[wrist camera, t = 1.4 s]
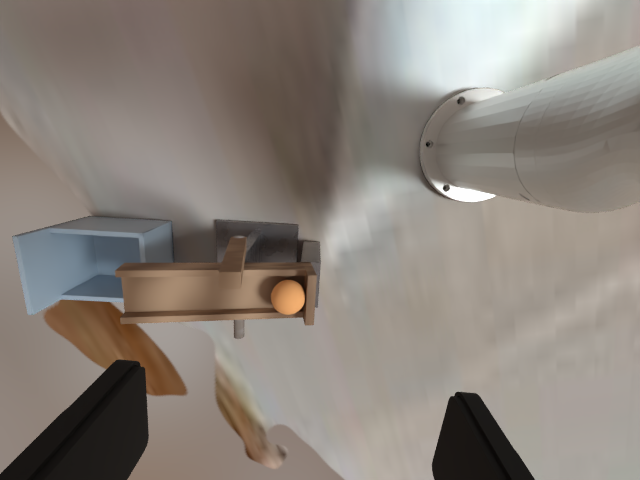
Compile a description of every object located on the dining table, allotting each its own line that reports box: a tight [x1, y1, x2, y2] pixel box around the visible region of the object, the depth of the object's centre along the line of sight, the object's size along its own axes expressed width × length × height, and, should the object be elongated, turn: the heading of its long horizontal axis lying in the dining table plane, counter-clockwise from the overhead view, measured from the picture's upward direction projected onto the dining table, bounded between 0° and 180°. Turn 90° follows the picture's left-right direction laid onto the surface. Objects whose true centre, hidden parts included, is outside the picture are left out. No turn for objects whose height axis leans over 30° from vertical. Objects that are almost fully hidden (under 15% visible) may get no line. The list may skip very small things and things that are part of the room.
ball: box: [271, 280, 305, 315], centre depth 29 cm, size 3×3×3 cm
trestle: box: [216, 220, 321, 308], centre depth 35 cm, size 13×9×9 cm
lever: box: [115, 235, 317, 339], centre depth 26 cm, size 17×10×10 cm, turn 87°
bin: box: [12, 216, 174, 315], centre depth 34 cm, size 10×8×10 cm
